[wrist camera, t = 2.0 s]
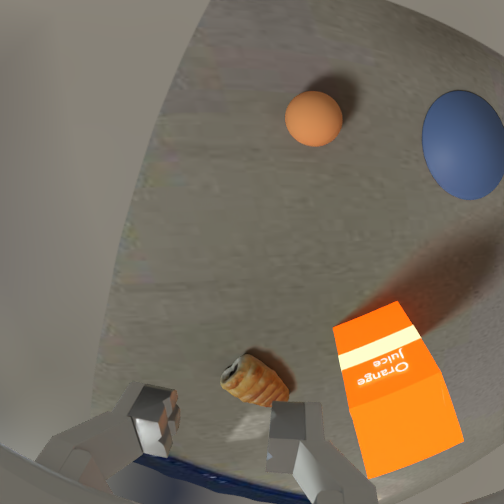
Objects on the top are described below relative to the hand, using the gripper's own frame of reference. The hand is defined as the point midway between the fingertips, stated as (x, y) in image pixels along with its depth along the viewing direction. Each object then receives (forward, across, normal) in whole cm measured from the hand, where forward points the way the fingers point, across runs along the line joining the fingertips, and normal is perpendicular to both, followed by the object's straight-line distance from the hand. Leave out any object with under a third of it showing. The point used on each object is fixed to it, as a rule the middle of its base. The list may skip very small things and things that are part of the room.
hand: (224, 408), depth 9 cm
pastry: (+28, -1, -21) cm, 35 cm away
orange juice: (+27, +14, -14) cm, 34 cm away
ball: (+24, +4, +11) cm, 27 cm away
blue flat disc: (+27, +23, +11) cm, 37 cm away
